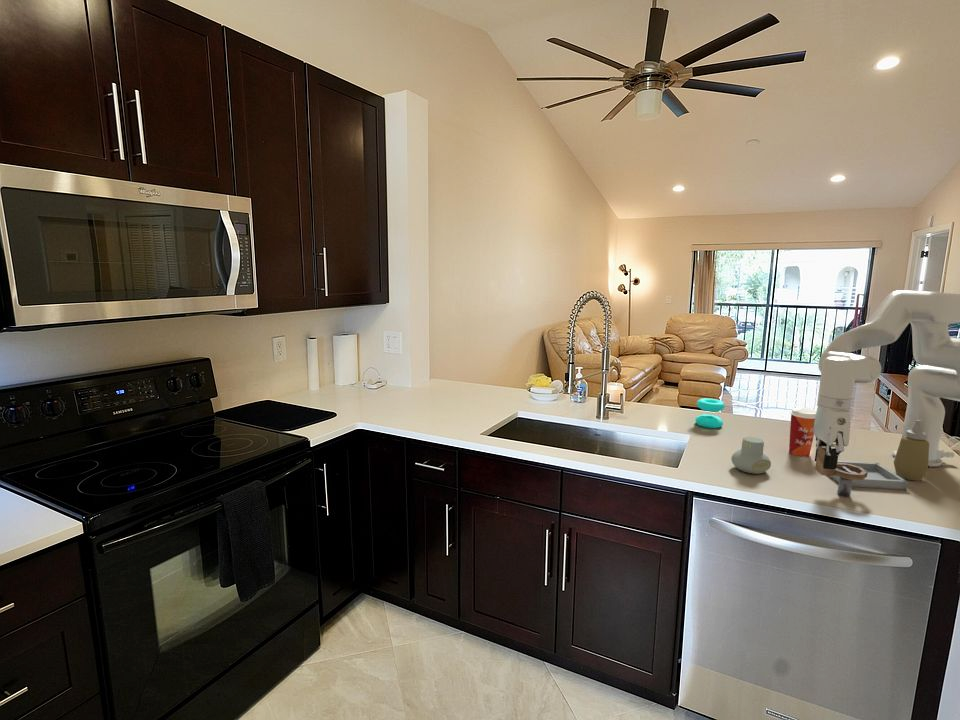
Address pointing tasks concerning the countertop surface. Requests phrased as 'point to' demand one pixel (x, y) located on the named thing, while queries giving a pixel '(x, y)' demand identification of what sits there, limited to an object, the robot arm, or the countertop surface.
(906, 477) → the squeeze bottle
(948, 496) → the countertop surface
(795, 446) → the coffee cup
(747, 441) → the air freshener
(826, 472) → the tabbed ring
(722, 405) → the donuts
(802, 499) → the countertop surface
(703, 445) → the countertop surface
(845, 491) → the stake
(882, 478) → the tray
